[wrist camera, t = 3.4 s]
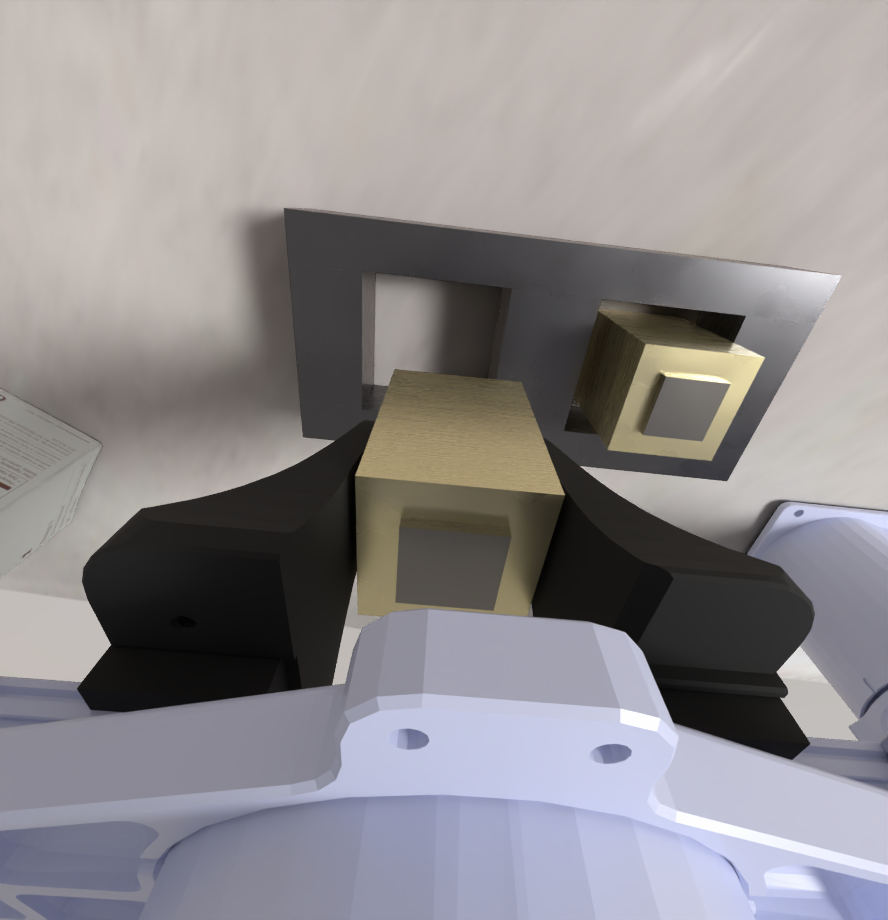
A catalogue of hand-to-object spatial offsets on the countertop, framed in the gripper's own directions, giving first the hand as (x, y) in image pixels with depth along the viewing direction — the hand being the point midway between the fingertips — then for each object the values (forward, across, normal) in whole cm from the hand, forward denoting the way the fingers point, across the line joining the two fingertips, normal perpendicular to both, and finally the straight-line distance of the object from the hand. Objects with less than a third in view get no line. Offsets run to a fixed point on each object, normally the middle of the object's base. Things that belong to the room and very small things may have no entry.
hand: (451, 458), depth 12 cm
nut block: (+2, 0, 0) cm, 2 cm away
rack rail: (+9, -4, -1) cm, 10 cm away
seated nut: (+9, -8, -1) cm, 12 cm away
